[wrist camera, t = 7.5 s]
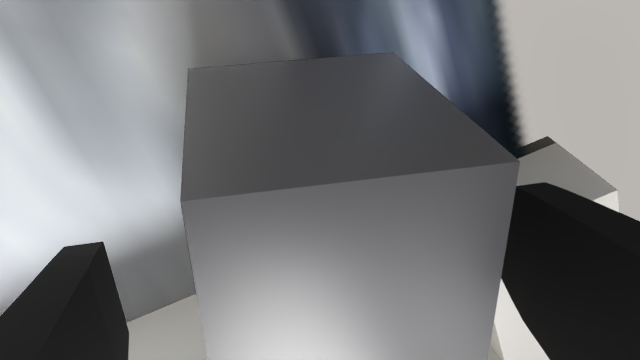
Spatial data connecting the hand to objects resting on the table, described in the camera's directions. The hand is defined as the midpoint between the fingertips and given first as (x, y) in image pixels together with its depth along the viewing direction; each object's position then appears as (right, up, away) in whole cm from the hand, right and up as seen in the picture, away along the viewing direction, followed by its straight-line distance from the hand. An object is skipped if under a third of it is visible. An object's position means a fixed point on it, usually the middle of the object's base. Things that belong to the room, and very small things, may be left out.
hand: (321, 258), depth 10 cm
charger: (-1, +2, +4) cm, 4 cm away
